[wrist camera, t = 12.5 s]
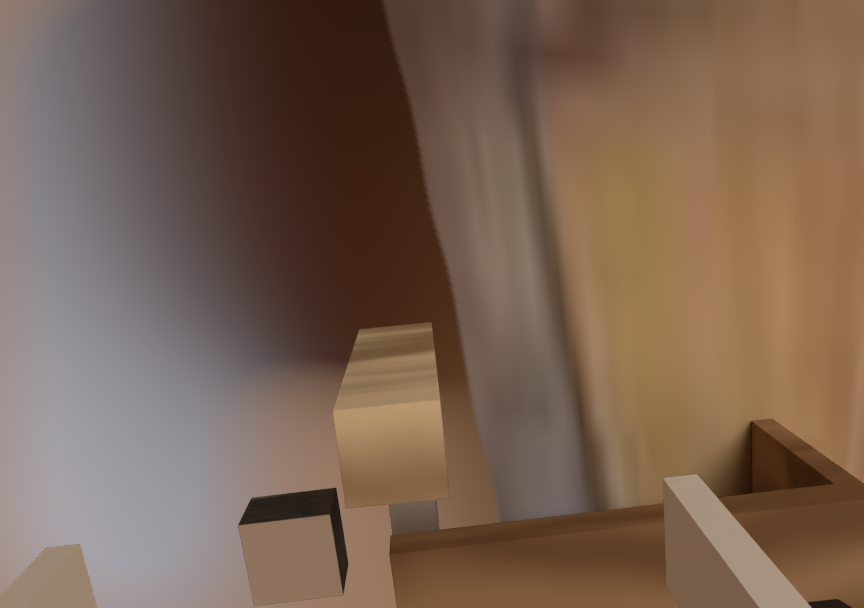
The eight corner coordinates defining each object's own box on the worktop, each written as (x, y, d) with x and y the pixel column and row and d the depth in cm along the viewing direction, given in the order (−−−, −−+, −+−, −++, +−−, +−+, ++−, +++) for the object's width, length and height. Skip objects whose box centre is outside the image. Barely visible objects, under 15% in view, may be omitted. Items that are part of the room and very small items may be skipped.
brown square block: (251, 497, 38) (238, 525, 35) (336, 487, 38) (329, 514, 35) (265, 572, 39) (254, 606, 36) (348, 562, 39) (343, 595, 36)
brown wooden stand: (395, 462, 37) (389, 554, 29) (772, 418, 37) (882, 497, 29) (423, 668, 40) (425, 808, 32) (772, 627, 40) (871, 756, 32)
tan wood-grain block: (359, 329, 36) (332, 410, 24) (431, 322, 36) (440, 399, 24) (392, 598, 39) (383, 784, 28) (458, 592, 39) (477, 774, 28)
